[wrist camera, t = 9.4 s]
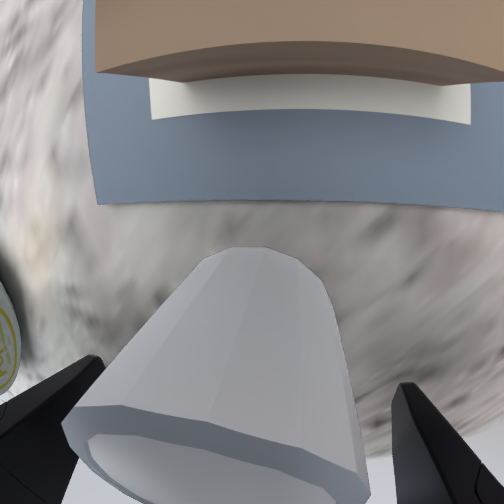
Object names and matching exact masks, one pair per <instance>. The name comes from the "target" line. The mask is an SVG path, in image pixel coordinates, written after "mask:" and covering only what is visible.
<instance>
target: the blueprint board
mask: <svg viewBox="0 0 504 504" xmlns="http://www.w3.org/2000/svg"><path fill="white" fill-rule="evenodd" d="M95 4H96V0H83V13H82V74H83V93H84V107H85V119H86V129H87V138H88V146H89V154H90V161H91V168H92V174H93V181H94V187H95V193H96V198H97V204H98V205H104V204H122V203H142V202H167V201H202V200H316V201H351V202H376V203H396V204H413V205H428V206H442V207H455V208H467V209H478V210H489V211H498V212H504V82H485V83H470V84H458V85H448V86H438V85H432V84H426V83H420V82H413V81H406V80H398V79H389V78H379V77H368V76H355V75H335V74H272V75H252V76H238V77H227V78H217V79H208V80H200V81H192V82H185V83H181V82H175V81H168V80H161V79H154V78H146V77H138V76H128V75H118V74H106V73H96V69H95Z"/></svg>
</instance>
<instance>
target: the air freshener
mask: <svg viewBox="0 0 504 504" xmlns="http://www.w3.org/2000/svg"><path fill="white" fill-rule="evenodd" d="M20 359H21V336H20V329H19V325H18V321H17V318H16V315H15V310H14V307H13V304H12V301H11V299H10V297H9V295H8V294H7V292H6V290H5V288H4V286H3V284H2V282H1V281H0V395H2V394H4V393H5V392H6V391H7V390H8V389H9V388H10V387H11V386H12V384H13V382H14V381H15V378H16V376H17V373H18V369H19V365H20Z"/></svg>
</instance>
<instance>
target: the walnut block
mask: <svg viewBox="0 0 504 504" xmlns="http://www.w3.org/2000/svg"><path fill="white" fill-rule="evenodd" d="M95 69H96V73H106V74H118V75H128V76H138V77H146V78H154V79H161V80H168V81H175V82H181V83H185V82H192V81H200V80H208V79H217V78H227V77H238V76H252V75H272V74H335V75H355V76H368V77H379V78H389V79H398V80H406V81H413V82H420V83H426V84H432V85H438V86H448V85H458V84H470V83H485V82H504V0H96V4H95Z"/></svg>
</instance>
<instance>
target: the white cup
mask: <svg viewBox="0 0 504 504" xmlns="http://www.w3.org/2000/svg"><path fill="white" fill-rule="evenodd" d="M61 424H62V427H63V430H64V433H65V435H66V438H67V441H68V443H69V446H70V447H71V448H72V450H73V451H74V452H75V453H76V454H77V455H78V456H79V457H80V459H81V460H82V461H83V462H84V463H85V464H86V465H87V466H88V467H89V468H90V469H91V470H92V471H93V472H94V473H96V474H97V475H98V476H100V477H101V478H102V479H104V480H105V481H106V482H108V483H109V484H111V485H112V486H114V487H115V488H117V489H118V490H119V491H121V492H122V493H124V494H126V495H128V496H129V497H131V498H133V499H135V500H138V501H139V502H141V503H143V504H365V503H366V501H367V500H368V499H369V497H370V496H371V493H370V486H369V480H368V473H367V467H366V461H365V455H364V449H363V443H362V438H361V432H360V427H359V421H358V416H357V411H356V406H355V401H354V396H353V391H352V387H351V382H350V377H349V373H348V368H347V364H346V359H345V355H344V351H343V346H342V342H341V338H340V334H339V330H338V325H337V321H336V317H335V313H334V309H333V306H332V303H331V301H330V299H329V296H328V294H327V292H326V289H325V287H324V285H323V282H322V280H321V279H320V278H318V277H317V276H316V275H315V274H314V273H313V272H312V271H311V270H309V269H308V268H307V267H306V266H305V265H304V264H303V263H302V262H301V261H299V260H298V259H296V258H294V257H291V256H288V255H285V254H283V253H280V252H277V251H275V250H272V249H269V248H267V247H231V248H228V249H226V250H223V251H221V252H219V253H216V254H214V255H211V256H209V257H206V258H204V259H203V260H202V261H201V262H200V263H199V264H198V265H197V266H196V267H195V268H194V270H193V271H192V272H191V273H190V274H189V275H188V276H187V277H186V278H185V279H184V281H183V282H182V283H181V284H180V285H179V286H178V287H177V288H176V289H175V291H174V292H173V293H172V294H171V295H170V296H169V297H168V298H167V299H166V301H165V302H164V303H163V304H162V305H161V306H160V307H159V308H158V310H157V311H156V312H155V313H154V314H153V315H152V316H151V317H150V319H149V320H148V321H147V322H146V323H145V324H144V325H143V326H142V328H141V329H140V330H139V331H138V332H137V333H136V334H135V336H134V337H133V338H132V339H131V340H130V341H129V342H128V344H127V345H126V346H125V347H124V348H123V349H122V351H121V352H120V353H119V354H118V355H117V356H116V358H115V359H114V360H113V361H112V362H111V363H110V364H109V366H108V367H107V368H106V369H105V370H104V372H103V373H102V374H101V375H100V376H99V377H98V379H97V380H96V381H95V382H94V383H93V384H92V386H91V387H90V388H89V389H88V390H87V392H86V393H85V394H84V395H83V396H82V398H81V399H80V400H79V401H78V402H77V404H76V405H75V406H74V407H73V409H72V410H71V411H70V412H69V414H68V415H67V416H66V417H65V419H64V420H63V421H62V423H61Z"/></svg>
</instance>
